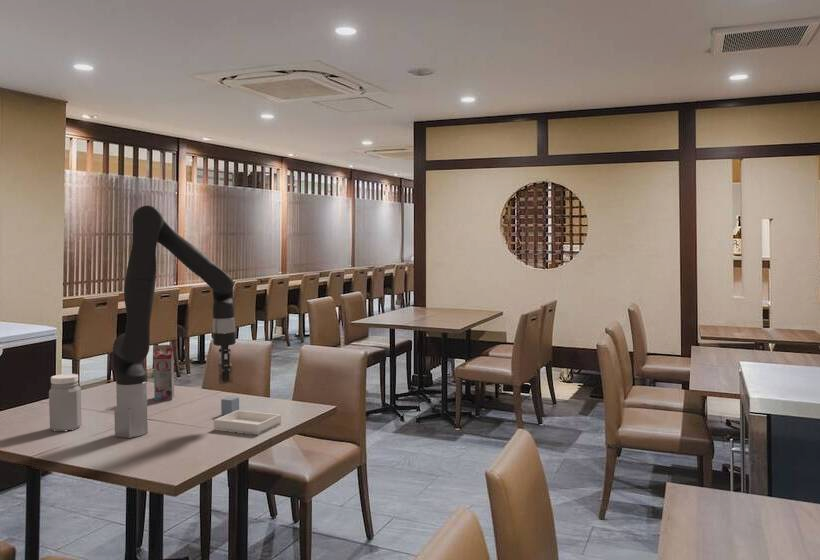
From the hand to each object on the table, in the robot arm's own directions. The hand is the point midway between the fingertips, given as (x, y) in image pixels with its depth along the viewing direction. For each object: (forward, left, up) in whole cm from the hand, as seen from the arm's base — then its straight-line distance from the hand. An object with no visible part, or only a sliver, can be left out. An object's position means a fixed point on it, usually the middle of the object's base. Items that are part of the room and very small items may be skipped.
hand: (225, 379), depth 221 cm
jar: (-23, +48, -16) cm, 56 cm away
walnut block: (0, 0, -1) cm, 1 cm away
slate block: (+12, +7, -16) cm, 21 cm away
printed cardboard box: (+23, +47, -16) cm, 55 cm away
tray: (0, -9, -16) cm, 18 cm away
